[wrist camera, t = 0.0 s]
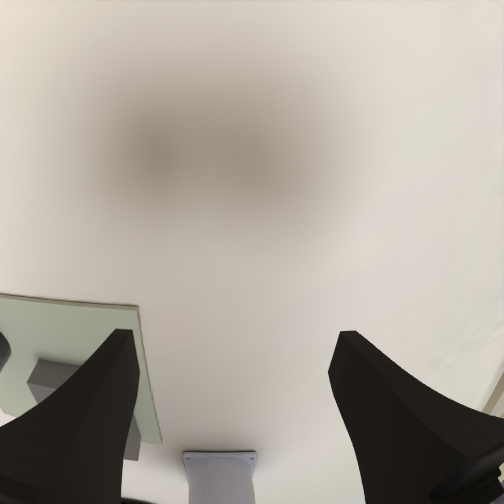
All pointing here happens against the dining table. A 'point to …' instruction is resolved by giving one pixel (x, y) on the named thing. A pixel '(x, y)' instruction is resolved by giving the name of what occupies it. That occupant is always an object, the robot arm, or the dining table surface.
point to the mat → (66, 348)
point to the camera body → (53, 376)
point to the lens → (4, 351)
